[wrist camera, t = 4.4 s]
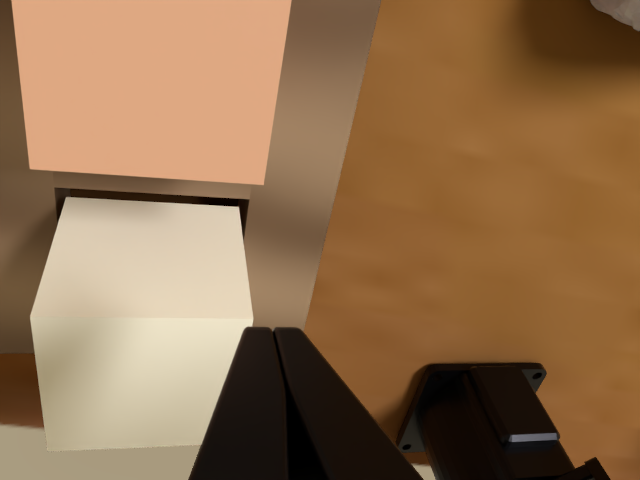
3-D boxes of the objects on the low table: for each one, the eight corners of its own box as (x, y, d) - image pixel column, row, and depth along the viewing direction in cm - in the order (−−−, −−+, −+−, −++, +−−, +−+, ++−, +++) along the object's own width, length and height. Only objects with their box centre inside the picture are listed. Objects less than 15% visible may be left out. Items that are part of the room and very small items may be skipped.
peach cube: (246, 98, 18) (263, 185, 14) (67, 80, 16) (29, 169, 12) (268, -88, 15) (298, -47, 11) (54, -128, 14) (1, -98, 10)
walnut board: (290, 309, 25) (298, 352, 23) (-1, 305, 22) (-18, 353, 20) (487, -632, 11) (550, -721, 9) (-211, -961, 8) (-329, -1188, 6)
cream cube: (224, 323, 21) (232, 443, 17) (74, 322, 20) (47, 452, 16) (239, 206, 18) (253, 318, 14) (66, 196, 17) (29, 316, 13)
